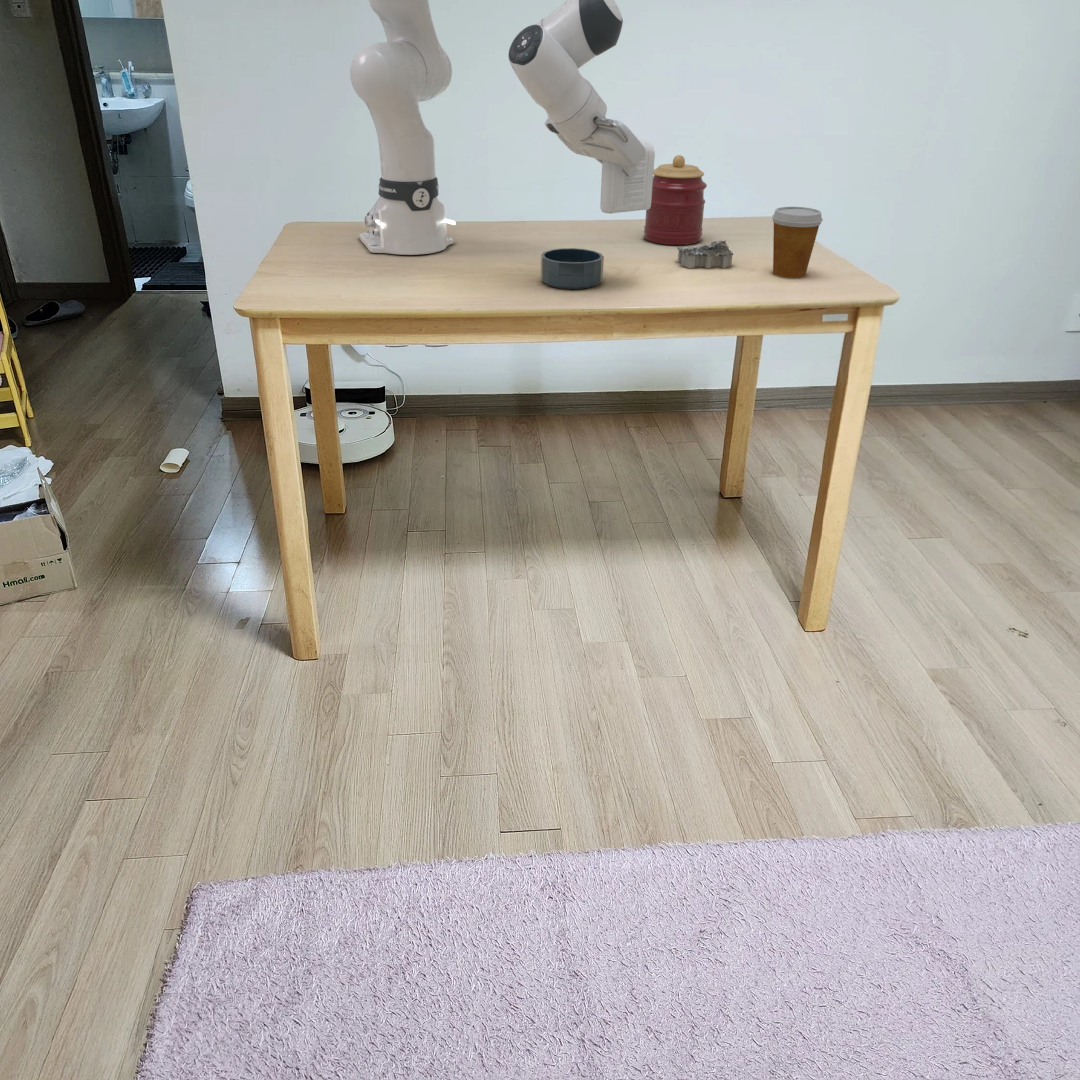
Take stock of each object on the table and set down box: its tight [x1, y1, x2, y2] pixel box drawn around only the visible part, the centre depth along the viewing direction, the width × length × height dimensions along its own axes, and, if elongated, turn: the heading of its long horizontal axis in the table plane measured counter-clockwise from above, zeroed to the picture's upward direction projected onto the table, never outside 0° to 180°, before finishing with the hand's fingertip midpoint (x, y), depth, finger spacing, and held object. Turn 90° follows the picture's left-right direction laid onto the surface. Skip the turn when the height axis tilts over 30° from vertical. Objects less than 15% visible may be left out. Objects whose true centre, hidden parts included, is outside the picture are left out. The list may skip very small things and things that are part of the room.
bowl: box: [540, 247, 605, 290], centre depth 176 cm, size 12×12×5 cm
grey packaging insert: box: [676, 240, 735, 269], centre depth 190 cm, size 11×8×4 cm
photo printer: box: [599, 138, 656, 214], centre depth 171 cm, size 10×4×12 cm, turn 123°
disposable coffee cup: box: [771, 206, 824, 279], centre depth 182 cm, size 10×10×12 cm
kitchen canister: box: [643, 154, 708, 246], centre depth 206 cm, size 13×13×18 cm
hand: (624, 171), depth 170 cm, fingers closed on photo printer, 4 cm apart
